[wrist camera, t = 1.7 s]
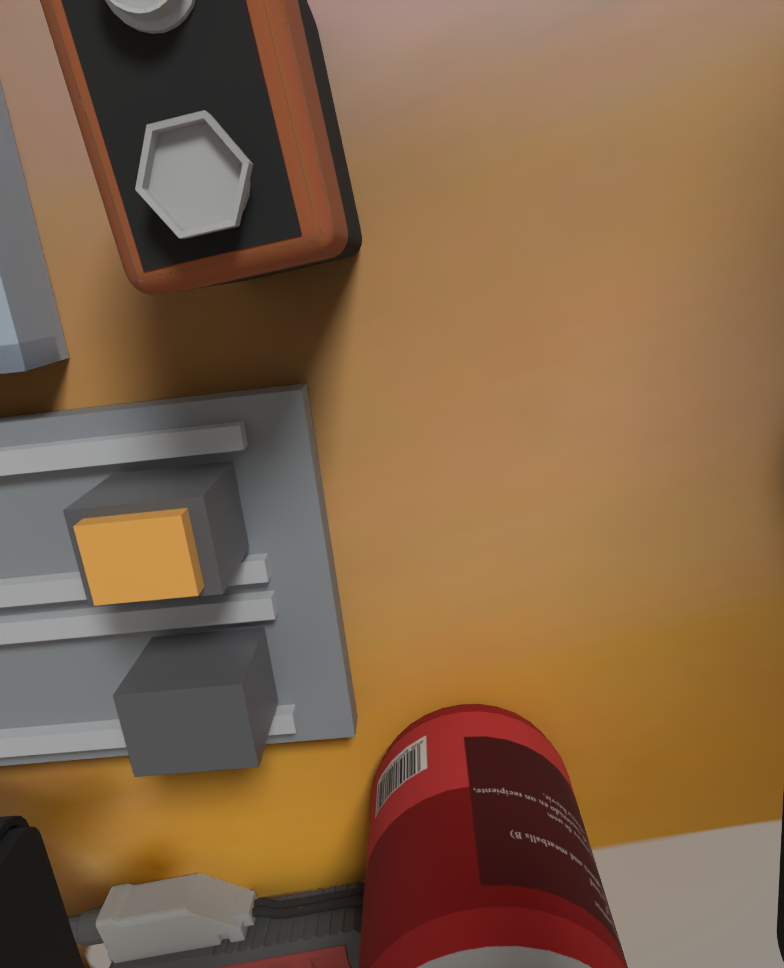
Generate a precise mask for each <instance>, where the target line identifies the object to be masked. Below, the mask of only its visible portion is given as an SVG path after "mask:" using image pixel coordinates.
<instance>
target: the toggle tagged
mask: <svg viewBox="0 0 784 968" xmlns="http://www.w3.org/2000/svg"><path fill="white" fill-rule="evenodd" d="M63 513H64V517H65V520H66V524H67V528H68V532H69V535H70V539H71V543H72V546H73V550H74V554H75V558H76V561H77V565H78V569H79V573H80V576H81V580H82V584H83V587H84V591H85V595H86V599H87V602H88V606H89V607H93V606H103V605H114V604H125V603H135V602H146V601H156V600H167V599H177V598H188V597H198V596H209V595H219V594H224V592H225V590H226V588H227V587H228V585H229V583H230V581H231V579H232V577H233V576H234V574H235V572H236V570H237V568H238V567H239V565H240V563H241V561H242V559H243V558H244V556H245V554H246V552H247V550H248V549H249V543H248V537H247V532H246V527H245V522H244V516H243V511H242V506H241V500H240V495H239V490H238V485H237V479H236V474H235V469H234V463H233V461H230V462H220V463H211V464H201V465H192V466H183V467H173V468H164V469H154V470H145V471H135V472H126V473H116V474H112V475H110V476H109V477H108V478H106V479H105V480H103V481H102V482H101V483H99V484H98V485H97V486H95V487H94V488H93V489H91V490H90V491H89V492H87V493H86V494H84V495H83V496H82V497H80V498H79V499H78V500H76V501H75V502H74V503H72V504H71V505H69V506H68V507H67V508H65V509H64V510H63Z"/></svg>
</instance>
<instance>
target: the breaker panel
mask: <svg viewBox="0 0 784 968" xmlns="http://www.w3.org/2000/svg"><path fill="white" fill-rule="evenodd" d="M230 461H233V463H234V469H235V474H236V479H237V485H238V490H239V495H240V500H241V506H242V511H243V516H244V522H245V527H246V532H247V537H248V543H249V549H248V550H247V552H246V554H245V556H244V558H243V559H242V561H241V563H240V565H239V567H238V568H237V570H236V572H235V574H234V576H233V577H232V579H231V581H230V583H229V585H228V587H227V588H226V590H225V592H224V594H219V595H209V596H198V597H188V598H177V599H167V600H156V601H146V602H135V603H125V604H114V605H103V606H93V607H89V606H88V602H87V599H86V595H85V591H84V587H83V584H82V580H81V576H80V573H79V569H78V565H77V561H76V558H75V554H74V550H73V546H72V543H71V539H70V535H69V532H68V528H67V524H66V520H65V517H64V513H63V510H64V509H65V508H67V507H68V506H69V505H71V504H72V503H74V502H75V501H76V500H78V499H79V498H80V497H82V496H83V495H84V494H86V493H87V492H89V491H90V490H91V489H93V488H94V487H95V486H97V485H98V484H99V483H101V482H102V481H103V480H105V479H106V478H108V477H109V476H110V475H112V474H116V473H126V472H135V471H145V470H154V469H164V468H173V467H183V466H192V465H201V464H211V463H220V462H230ZM256 627H265V633H266V638H267V643H268V649H269V654H270V659H271V664H272V670H273V675H274V680H275V686H276V691H277V696H278V704H277V707H276V711H275V714H274V717H273V721H272V724H271V728H270V731H269V734H268V738H267V741H266V744H274V743H286V742H298V741H310V740H322V739H334V738H347V737H355V734H356V725H357V711H356V704H355V697H354V691H353V684H352V678H351V671H350V664H349V658H348V651H347V645H346V638H345V632H344V625H343V618H342V612H341V605H340V599H339V592H338V585H337V579H336V572H335V566H334V559H333V552H332V546H331V539H330V533H329V526H328V520H327V513H326V506H325V500H324V493H323V487H322V480H321V473H320V467H319V460H318V454H317V447H316V441H315V434H314V427H313V421H312V414H311V408H310V401H309V394H308V388H307V383H304V384H295V385H286V386H277V387H268V388H259V389H250V390H241V391H232V392H223V393H214V394H205V395H196V396H187V397H178V398H169V399H160V400H151V401H142V402H133V403H125V404H116V405H107V406H98V407H89V408H80V409H71V410H62V411H53V412H44V413H35V414H26V415H17V416H8V417H0V766H6V765H18V764H30V763H42V762H54V761H66V760H79V759H91V758H103V757H115V756H127V755H128V751H127V747H126V744H125V740H124V736H123V732H122V729H121V725H120V721H119V718H118V714H117V710H116V706H115V703H114V699H113V694H114V693H115V691H116V690H117V688H118V687H119V685H120V684H121V682H122V681H123V679H124V678H125V676H126V675H127V673H128V672H129V670H130V669H131V667H132V666H133V664H134V663H135V662H136V660H137V659H138V657H139V656H140V654H141V653H142V651H143V650H144V648H145V647H146V645H147V644H148V642H149V641H150V639H151V638H152V637H158V636H169V635H180V634H191V633H202V632H213V631H223V630H234V629H245V628H256Z"/></svg>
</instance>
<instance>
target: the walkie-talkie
mask: <svg viewBox="0 0 784 968" xmlns="http://www.w3.org/2000/svg"><path fill="white" fill-rule="evenodd" d="M364 888H365V884H361V883H359V882H355V884H351V885H348V884H343V886H340V887H335V886H331V888H330V889H322V888H320V889H318V890H313V891H310V890H309V891H304V892H296V893H288V894H281V895H275V896H268V897H262V898H258V897H257V895H256V892H255V890H252V891H251V890H249V889H246V888H243V887H240V886H237V885H234V884H231V883H228V882H225V881H222V880H219V879H216V878H213V877H210V876H207V875H204V874H201V873H197V874H191V875H186V876H181V877H175V878H170V879H165V880H159V881H154V882H148V883H143V884H138V885H132V884H128V883H127V884H122V885H117V886H113V887H112V888H111V890H110V892H109V894H108V896H107V898H106V900H105V902H104V904H103V907H102V908H98V909H92V910H88V911H84V912H83V914H82V915H78V916H73V917H68V920H69V923H70V926H71V929H72V932H73V935H74V938H75V941H76V944H77V943H81V944H82V945H83V946H89V945H95V944H101V943H104V944H105V946H106V948H107V950H108V955H109V959H110V961H112V963H111V965H110V967H109V968H358V964H359V951H360V938H361V926H362V913H363V900H364Z"/></svg>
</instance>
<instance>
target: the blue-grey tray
mask: <svg viewBox="0 0 784 968" xmlns="http://www.w3.org/2000/svg"><path fill="white" fill-rule="evenodd" d="M67 358H69V355H68V351H67V347H66V343H65V339H64V335H63V331H62V327H61V323H60V319H59V315H58V311H57V307H56V303H55V299H54V295H53V291H52V287H51V283H50V279H49V275H48V271H47V267H46V263H45V259H44V255H43V251H42V247H41V243H40V239H39V235H38V230H37V226H36V222H35V218H34V214H33V210H32V206H31V202H30V198H29V194H28V190H27V186H26V182H25V178H24V174H23V170H22V166H21V162H20V158H19V154H18V150H17V146H16V142H15V138H14V134H13V130H12V126H11V122H10V118H9V114H8V110H7V106H6V102H5V98H4V94H3V90H2V86H1V82H0V374H4V373H13V372H22V371H28V370H31V369H34V368H38V367H41V366H44V365H47V364H51V363H54V362H57V361H61V360H64V359H67Z"/></svg>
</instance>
